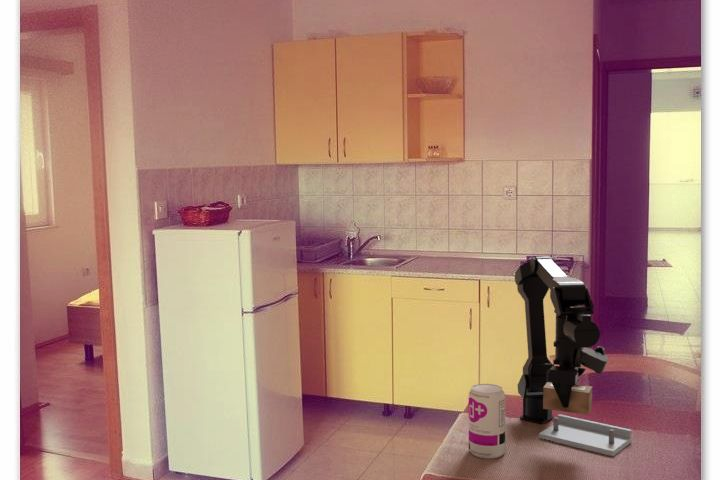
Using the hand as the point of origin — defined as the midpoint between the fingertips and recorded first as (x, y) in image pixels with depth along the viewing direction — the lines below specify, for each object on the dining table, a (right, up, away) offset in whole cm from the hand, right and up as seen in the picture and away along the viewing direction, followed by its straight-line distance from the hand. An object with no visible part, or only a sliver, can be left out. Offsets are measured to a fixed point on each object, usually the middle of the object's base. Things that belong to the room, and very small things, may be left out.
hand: (567, 403), depth 161 cm
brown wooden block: (0, -1, 0) cm, 1 cm away
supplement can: (-19, -11, 0) cm, 22 cm away
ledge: (+5, -10, +6) cm, 13 cm away
